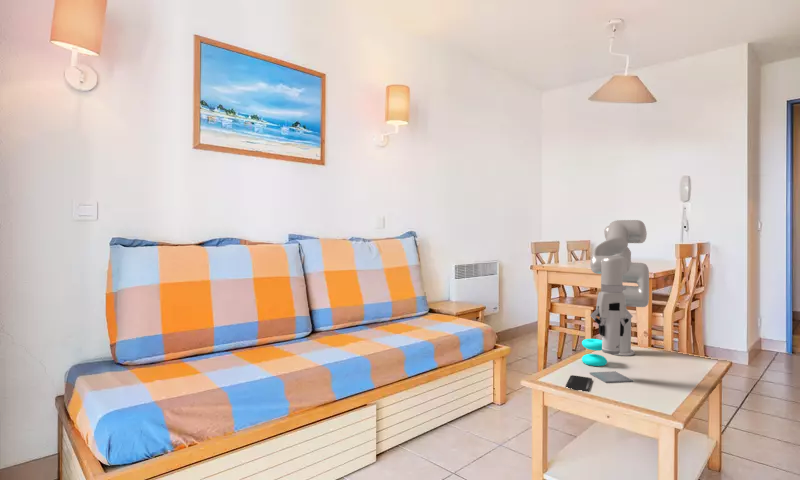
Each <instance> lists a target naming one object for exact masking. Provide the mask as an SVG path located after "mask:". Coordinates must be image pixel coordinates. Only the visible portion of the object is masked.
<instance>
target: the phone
mask: <svg viewBox="0 0 800 480" xmlns="http://www.w3.org/2000/svg"><path fill="white" fill-rule="evenodd" d="M592 382H593V378H592V377H586V376H581V375H572V374H571V375H570V376H569V378H568V380H567V381H566V384H565V388H566V387H568V388H572V389H575V390H576V391H578V390H582V391H581V392H584V391H588V392H589V391H590V388H591V385H592Z"/></svg>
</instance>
